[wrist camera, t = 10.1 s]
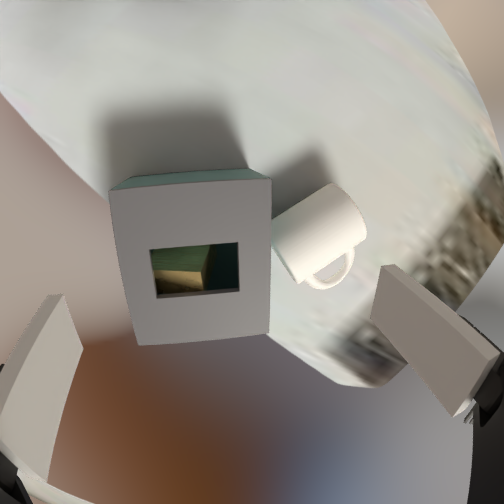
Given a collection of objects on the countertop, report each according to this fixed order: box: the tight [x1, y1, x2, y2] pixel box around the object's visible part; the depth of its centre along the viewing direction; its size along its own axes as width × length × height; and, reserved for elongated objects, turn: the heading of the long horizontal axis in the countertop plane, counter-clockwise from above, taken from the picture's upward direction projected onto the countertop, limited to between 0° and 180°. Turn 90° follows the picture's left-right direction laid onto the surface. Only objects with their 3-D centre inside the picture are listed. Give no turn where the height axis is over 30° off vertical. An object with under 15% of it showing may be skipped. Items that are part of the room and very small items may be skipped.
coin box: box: [108, 169, 272, 345], centre depth 31 cm, size 16×14×10 cm
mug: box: [271, 183, 367, 289], centre depth 35 cm, size 12×10×8 cm
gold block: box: [151, 244, 217, 294], centre depth 31 cm, size 6×3×7 cm, turn 90°
